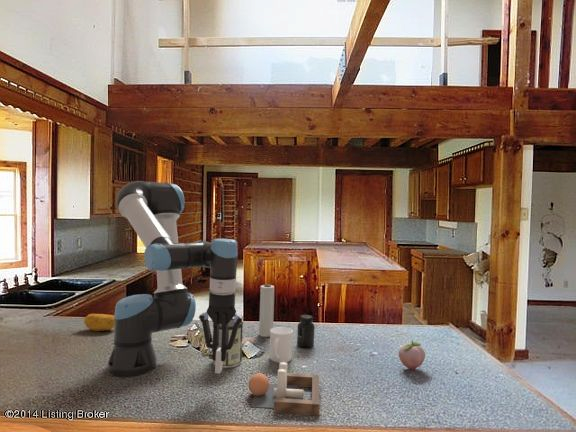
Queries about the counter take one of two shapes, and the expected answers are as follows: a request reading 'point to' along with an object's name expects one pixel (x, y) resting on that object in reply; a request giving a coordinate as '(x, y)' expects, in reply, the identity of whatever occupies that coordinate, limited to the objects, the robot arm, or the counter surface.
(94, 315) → the potato
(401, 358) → the decorative fruit
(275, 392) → the front pin
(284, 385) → the pin
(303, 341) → the supplement bottle
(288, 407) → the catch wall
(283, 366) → the pin
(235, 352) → the coffee can
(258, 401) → the pin deck mark
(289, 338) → the mug
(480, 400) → the counter surface
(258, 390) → the ball
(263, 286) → the paper towel roll
